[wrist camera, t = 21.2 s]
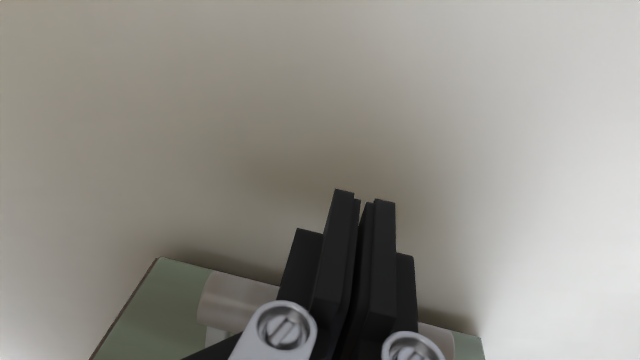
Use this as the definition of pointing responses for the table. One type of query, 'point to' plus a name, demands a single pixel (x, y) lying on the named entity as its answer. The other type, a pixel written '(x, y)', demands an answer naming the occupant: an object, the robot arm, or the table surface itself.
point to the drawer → (214, 316)
